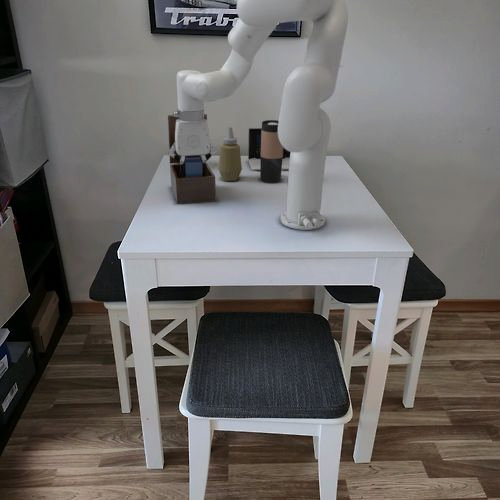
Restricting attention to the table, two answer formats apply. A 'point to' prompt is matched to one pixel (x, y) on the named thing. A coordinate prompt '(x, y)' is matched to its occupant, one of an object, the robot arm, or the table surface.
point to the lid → (172, 137)
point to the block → (193, 167)
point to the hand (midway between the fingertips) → (193, 174)
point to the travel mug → (271, 152)
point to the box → (192, 186)
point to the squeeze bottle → (230, 158)
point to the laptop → (255, 150)
